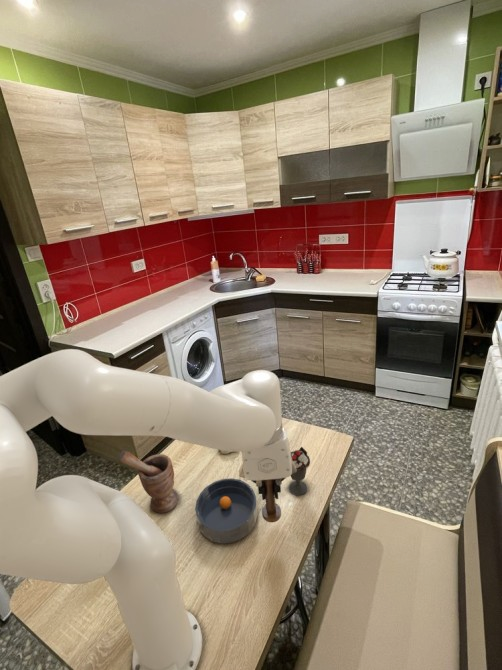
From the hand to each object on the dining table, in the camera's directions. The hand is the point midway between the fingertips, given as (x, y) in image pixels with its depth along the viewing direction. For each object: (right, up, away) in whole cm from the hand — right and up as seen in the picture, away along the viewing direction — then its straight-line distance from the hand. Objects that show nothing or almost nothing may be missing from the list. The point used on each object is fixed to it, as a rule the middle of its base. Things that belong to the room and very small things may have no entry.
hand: (269, 493), depth 77 cm
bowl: (-10, -11, +11) cm, 19 cm away
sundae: (+9, -7, +17) cm, 20 cm away
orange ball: (-11, -8, +13) cm, 18 cm away
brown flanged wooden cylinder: (+1, -6, +3) cm, 7 cm away
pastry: (-12, -1, +35) cm, 37 cm away
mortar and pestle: (-29, -11, +16) cm, 35 cm away
